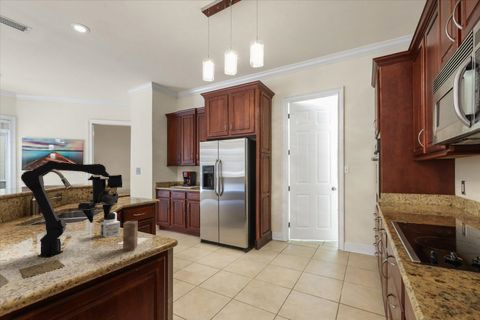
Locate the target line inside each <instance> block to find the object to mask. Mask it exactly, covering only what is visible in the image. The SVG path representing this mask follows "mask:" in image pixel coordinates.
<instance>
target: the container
mask: <svg viewBox="0 0 480 320" xmlns="http://www.w3.org/2000/svg"><path fill="white" fill-rule="evenodd" d="M117 217H118V214H117V212H115V211H110V213H109V216H108V218H105V215H104V214H103V221H100V222H99V223H100V225H99V226H100V228H99V229H100V230H99V232H100V233H99V235H100V236H101V237H104V238H110V237H114V236H118V235H120V233H121V221H119V220H118V219H117Z"/></svg>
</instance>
